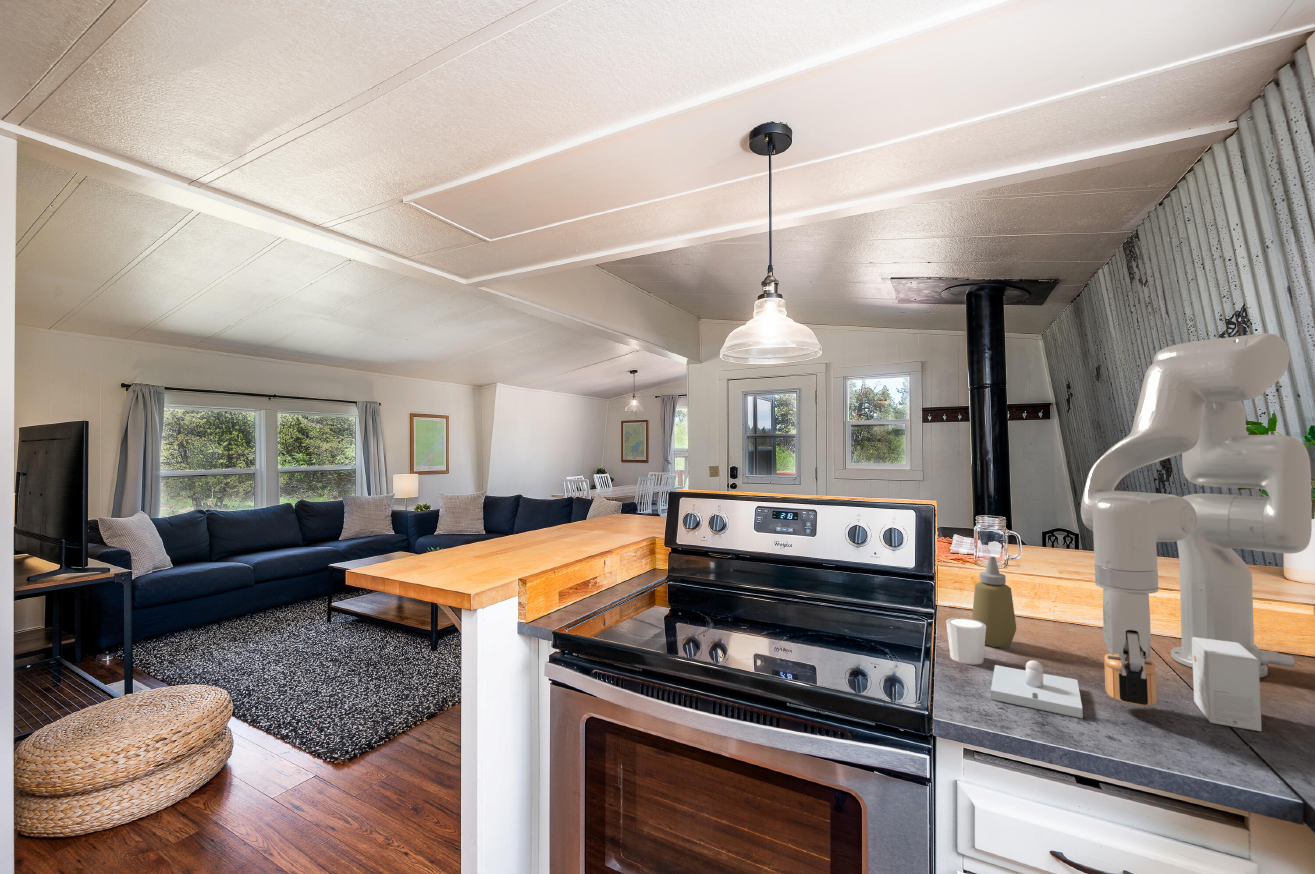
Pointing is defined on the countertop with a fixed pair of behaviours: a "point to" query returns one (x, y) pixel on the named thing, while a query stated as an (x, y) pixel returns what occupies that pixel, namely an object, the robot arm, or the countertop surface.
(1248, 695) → the small box
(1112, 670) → the cap
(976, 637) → the white cup
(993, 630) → the squeeze bottle
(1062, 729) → the countertop surface
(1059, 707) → the knob base plate
